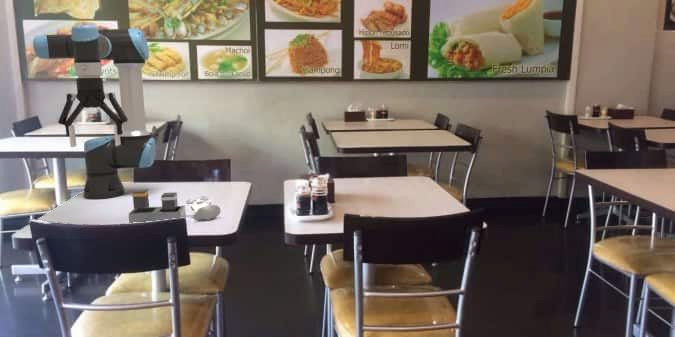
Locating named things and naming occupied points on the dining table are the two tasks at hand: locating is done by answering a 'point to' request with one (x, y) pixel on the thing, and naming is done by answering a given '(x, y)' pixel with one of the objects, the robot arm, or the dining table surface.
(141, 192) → the plug
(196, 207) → the figurine
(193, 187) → the dining table surface
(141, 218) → the grey holder
